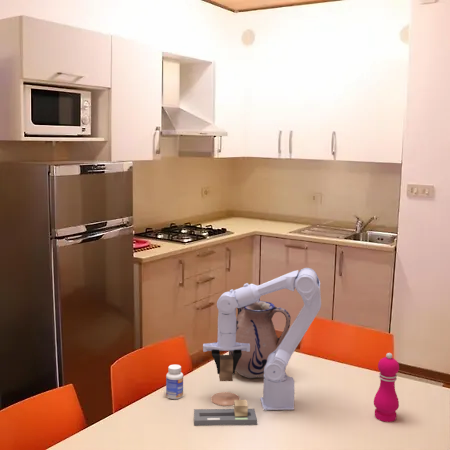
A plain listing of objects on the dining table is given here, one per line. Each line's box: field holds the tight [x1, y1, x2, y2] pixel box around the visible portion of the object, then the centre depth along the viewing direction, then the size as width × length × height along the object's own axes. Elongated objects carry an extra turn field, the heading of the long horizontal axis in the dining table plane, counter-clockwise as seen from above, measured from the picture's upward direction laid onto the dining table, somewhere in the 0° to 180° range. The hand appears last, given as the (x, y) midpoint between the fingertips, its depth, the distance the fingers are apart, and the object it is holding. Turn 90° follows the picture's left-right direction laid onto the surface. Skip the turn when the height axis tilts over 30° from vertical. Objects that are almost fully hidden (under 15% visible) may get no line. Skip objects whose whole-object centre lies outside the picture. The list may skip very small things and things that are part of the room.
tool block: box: [218, 354, 234, 382], centre depth 179 cm, size 4×4×7 cm
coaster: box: [210, 391, 241, 407], centre depth 180 cm, size 9×9×1 cm
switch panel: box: [193, 408, 258, 426], centre depth 167 cm, size 18×7×2 cm, turn 94°
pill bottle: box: [165, 364, 184, 400], centre depth 181 cm, size 5×5×10 cm
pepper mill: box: [373, 352, 400, 423], centre depth 169 cm, size 7×7×20 cm
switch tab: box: [233, 399, 249, 417], centre depth 167 cm, size 4×4×3 cm
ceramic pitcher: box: [228, 300, 292, 379], centre depth 199 cm, size 18×21×25 cm
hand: (225, 372), depth 179 cm, fingers closed on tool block, 4 cm apart
